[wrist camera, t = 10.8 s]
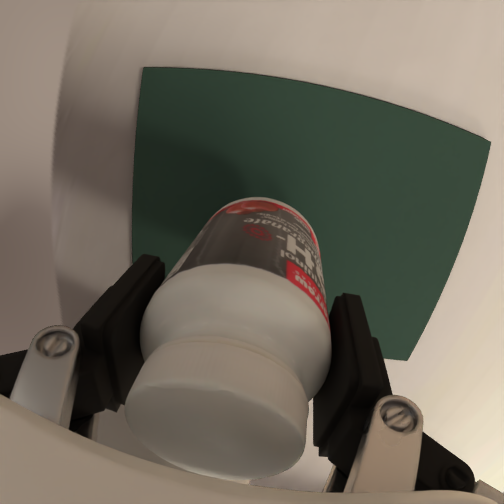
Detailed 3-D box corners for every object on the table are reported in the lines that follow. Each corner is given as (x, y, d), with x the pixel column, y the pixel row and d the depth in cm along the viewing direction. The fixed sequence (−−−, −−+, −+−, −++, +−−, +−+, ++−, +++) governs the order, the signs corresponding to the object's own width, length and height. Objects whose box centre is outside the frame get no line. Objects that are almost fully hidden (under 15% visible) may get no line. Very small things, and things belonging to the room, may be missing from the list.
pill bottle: (339, 224, 14) (396, 412, 5) (289, 316, 16) (274, 504, 7) (223, 174, 13) (96, 304, 5) (187, 276, 16) (93, 443, 7)
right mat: (488, 141, 14) (491, 142, 14) (406, 357, 21) (407, 361, 21) (146, 68, 15) (143, 67, 15) (136, 308, 22) (134, 311, 22)
